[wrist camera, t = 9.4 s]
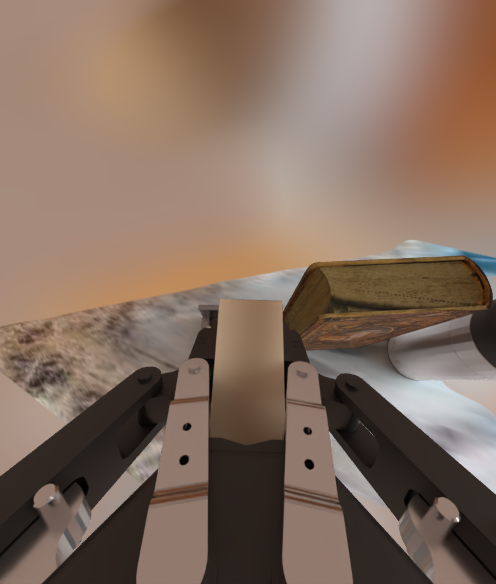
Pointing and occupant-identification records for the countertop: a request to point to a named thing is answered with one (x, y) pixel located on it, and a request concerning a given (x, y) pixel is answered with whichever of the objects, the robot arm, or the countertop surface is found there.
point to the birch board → (248, 372)
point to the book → (383, 299)
